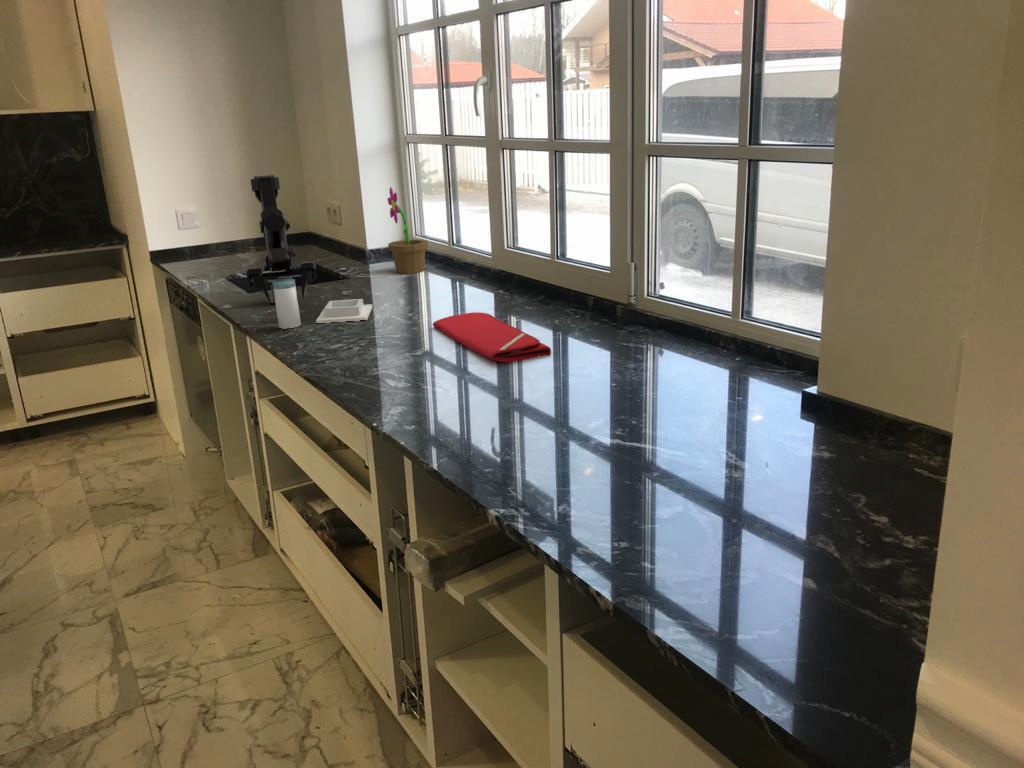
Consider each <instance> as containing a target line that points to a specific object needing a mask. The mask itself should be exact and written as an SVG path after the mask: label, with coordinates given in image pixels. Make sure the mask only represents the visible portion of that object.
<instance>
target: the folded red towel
mask: <svg viewBox="0 0 1024 768" xmlns="http://www.w3.org/2000/svg"><path fill="white" fill-rule="evenodd" d="M432 326H433V327H434V328H435V329H436V330H439V332H441V333H443V334H445V335H446V336H448V337H450V338H451V339H452V340H455V342H458V343H459V344H460V345H463V346H464V347H466V348H468V349H470V350H471V351H473V352H475V353H477V354H479V355H481V356H483V357H485V358H487V359H490V360H492V361H495V362H500V363H504V364H505V363H506V364H509V363H514V362H520V361H525V360H530V358H531V359H535V357H536V358H539V357H538V356H541V357H545V356H544V355H547V356H550V355H551V354H552V348H551V347H550V346H548V345H546V344H544V343H542V342H540V340H539V339H538V338H536V337H534V336H532V335H531V334H528V333H526V332H524V331H522V330H521V329H519V328H517V327H515V326H512V325H510V324H508V323H506V322H505V321H503V320H500V319H499V318H496V317H495V316H494V315H491V314H489V313H486V312H479V311H477V312H467V313H461V314H455V315H450V316H447V317H443V318H441V319H438V320H435V321H434V322H433V323H432Z"/></svg>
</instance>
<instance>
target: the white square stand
mask: <svg viewBox="0 0 1024 768" xmlns="http://www.w3.org/2000/svg"><path fill="white" fill-rule="evenodd" d="M372 309H373V304H372V303H371V304H370V303H369V304H368V303H367V304H364V299H363V298H357V299H356V298H353V299H342V300H339V299H338V300H329V301H328V302H327V304H326V305H325V307H324V308H323V309H322V311H321V313H320V314H319V315H318V317H317V318H316V320H315V324H316V323H325V324H332V323H331V322H340V323H347V322H346V321H355V322H361V321H360V320H366V321H367V320H368V318H369V316H370V313H371V311H372Z"/></svg>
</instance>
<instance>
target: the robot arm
mask: <svg viewBox="0 0 1024 768" xmlns="http://www.w3.org/2000/svg"><path fill="white" fill-rule="evenodd" d="M249 181H250V186H251V192H252V193H254V198H255V200H256V201H257V202H258V203H259V204H260V206H261V210H262V211H261V212H260V220H259V221H258V225H259V229H260V234H263V237H264V238H265V244H266V252H267V254H266V257H265V260H264V262H265V265H263V270H264V271H262V268H261V266H260V267H250V268H247V269H246V270H245V271H246V278H247V279H246V280H247V283H248V287H249V288H253V289H254V290H258V291H259V292H260V293H261V294H262V295H263V297H264V298H265V300H266V301H267V303H269V304H270V303H275V297H274V290H273V284H272V282H273V281H275V280H280V279H294V280H295V282H297V280H296V277H301V278H300V279H301V280H300V281H301V283H300V284H301V296H302V299H305V297H306V296H305V295H306V291H307V288H308V287H309V284H311V283H313V282H314V281H315V280H317V278H318V277H317V266H316V263H315V262H314V261H307V262H306V261H305V262H300V267H299V268H298V267H297V268H295V267H294V266H293V264H292V259H295V258H297V255H296V248H295V245H294V244H291V245H288V241H287V232H289V229H291V225H290V222H288V220H287V218H284V214H283V211H282V210H281V209H279V208H278V204H277V199H278V198H279V191H280V190H281V186H280V179H279V177H278V176H275V175H274V174H268V175H267V174H266V175H255V176H253V178H250V179H249ZM269 285H270V289H271V296H272V300H271V299H270V295H269V292H268V288H267V286H269Z"/></svg>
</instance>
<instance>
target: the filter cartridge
mask: <svg viewBox="0 0 1024 768" xmlns="http://www.w3.org/2000/svg"><path fill="white" fill-rule="evenodd" d="M295 280H296V279H295ZM295 280H294V279H280V280H275V281H273V282H272V284H273V290H274V297H275V304H274V305H275V310H276V316H277V322H278V323H277V324H278V329H279V328H282V329H287V328H294V327H298V326H300V325H301V326H302V323H301V317H300V315H301V314H300V308H299V302H298V301H299V300H298V294H297V288H296V287H297V286H296V281H295ZM282 329H281V330H282Z"/></svg>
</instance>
